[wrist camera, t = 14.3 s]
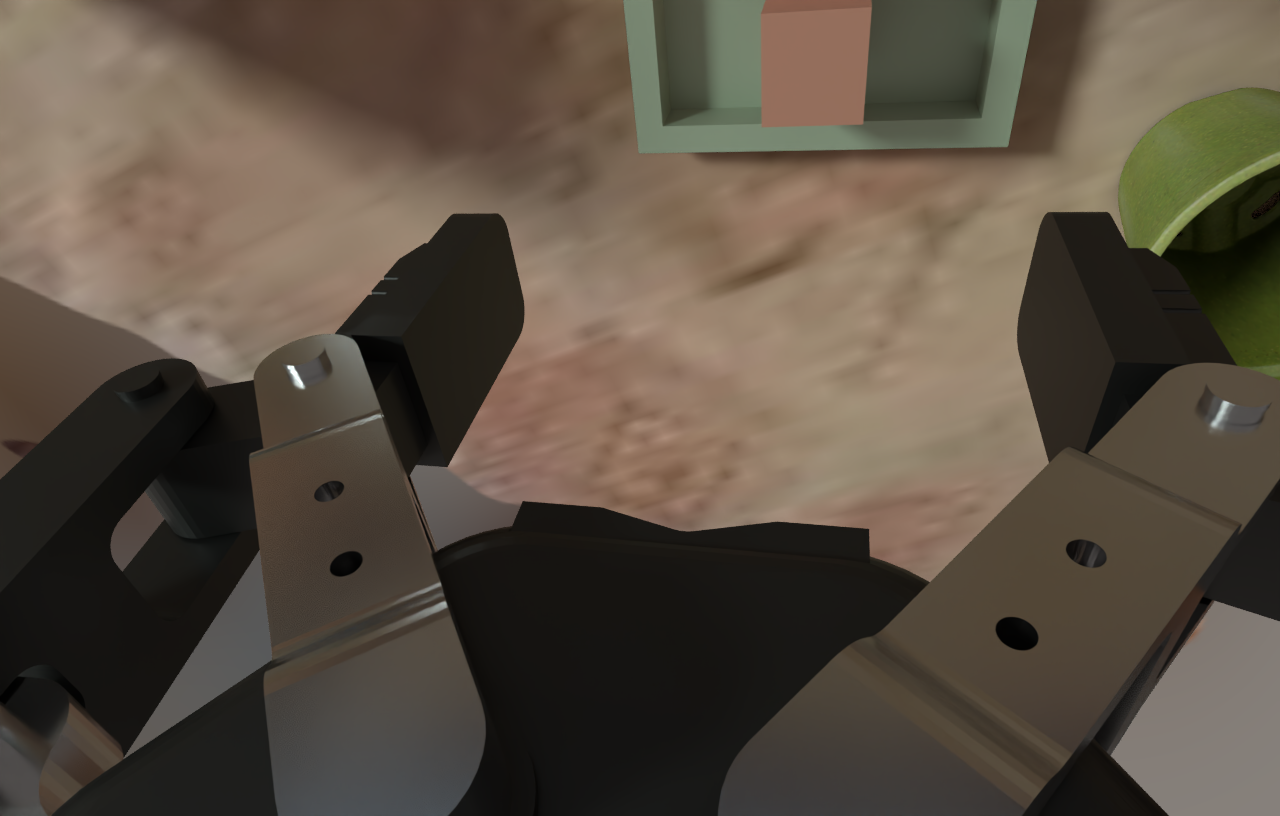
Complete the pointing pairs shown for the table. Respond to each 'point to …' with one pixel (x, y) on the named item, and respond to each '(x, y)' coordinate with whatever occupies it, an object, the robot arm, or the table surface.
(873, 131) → the tray
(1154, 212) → the plant pot
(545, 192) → the table surface
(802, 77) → the collar
